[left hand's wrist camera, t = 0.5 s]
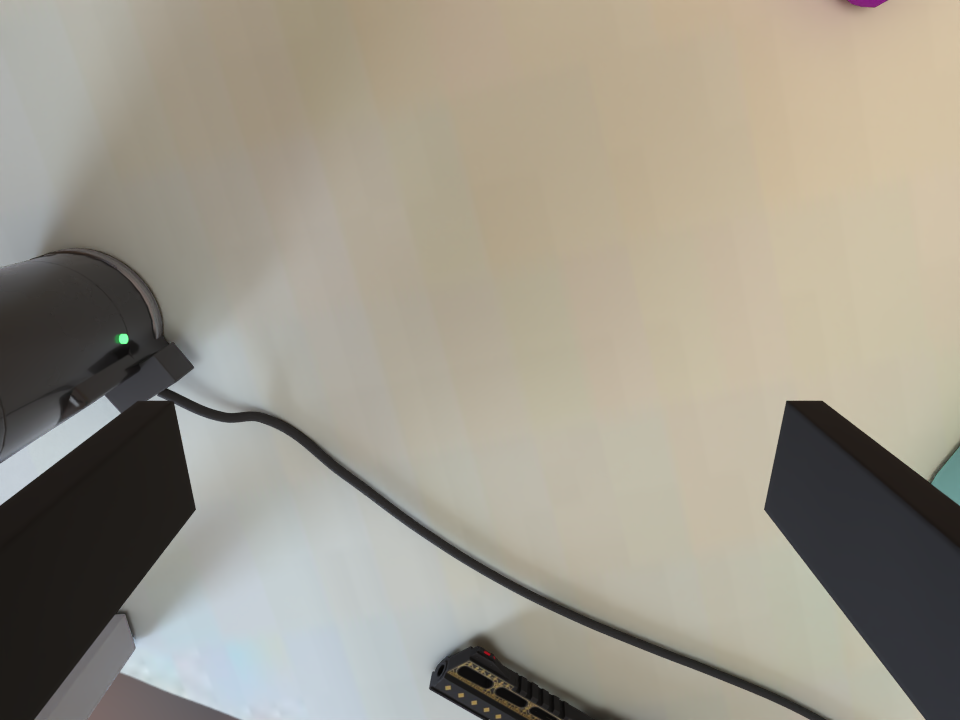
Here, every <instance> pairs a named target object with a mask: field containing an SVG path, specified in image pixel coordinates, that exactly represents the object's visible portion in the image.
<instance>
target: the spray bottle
mask: <svg viewBox="0 0 960 720" xmlns="http://www.w3.org/2000/svg"><path fill="white" fill-rule="evenodd" d="M848 1H849V2H850V3H851V4H853V5H857V6H860V7H876V6H878V5H880V4H882V3H884V2H886V1H887V0H848Z"/></svg>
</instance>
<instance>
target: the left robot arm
mask: <svg viewBox="0 0 960 720" xmlns="http://www.w3.org/2000/svg"><path fill="white" fill-rule="evenodd" d="M195 510H196V508H195V503H194V498H193V493H192V488H191V484H190V479H189V474H188V469H187V464H186V459H185V454H184V449H183V445H182V440H181V435H180V430H179V425H178V420H177V415H176V411H175V406H174V401H137V402H136V403H134V404H133V405H132V406H130V407H129V408H128V409H126V410H125V411H124V412H122V413H121V414H120V415H119V416H117V417H116V418H115V419H113V420H112V421H111V422H109V423H108V424H107V425H105V426H104V427H103V428H101V429H100V430H99V431H98V432H96V433H95V434H94V435H92V436H91V437H90V438H88V439H87V440H86V441H84V442H83V443H82V444H80V445H79V446H78V447H77V448H75V449H74V450H73V451H71V452H70V453H69V454H67V455H66V456H65V457H63V458H62V459H61V460H60V461H58V462H57V463H56V464H54V465H53V466H52V467H50V468H49V469H48V470H46V471H45V472H44V473H42V474H41V475H40V476H39V477H37V478H36V479H35V480H33V481H32V482H31V483H29V484H28V485H27V486H25V487H24V488H23V489H22V490H20V491H19V492H18V493H16V494H15V495H14V496H12V497H11V498H10V499H8V500H7V501H6V502H4V503H3V504H2V505H1V506H0V720H34V719H35V718H36V717H37V716H38V714H39V713H40V712H41V710H42V709H43V708H44V706H45V705H46V704H47V703H48V701H49V700H50V699H51V697H52V696H53V695H54V693H55V692H56V691H57V690H58V688H59V687H60V686H61V684H62V683H63V682H64V680H65V679H66V678H67V676H68V675H69V674H70V673H71V671H72V670H73V669H74V667H75V666H76V665H77V663H78V662H79V661H80V660H81V658H82V657H83V656H84V654H85V653H86V652H87V650H88V649H89V648H90V647H91V645H92V644H93V643H94V641H95V640H96V639H97V637H98V636H99V635H100V634H101V632H102V631H103V630H104V628H105V627H106V626H107V624H108V623H109V622H110V621H111V619H112V618H113V617H114V615H115V614H116V613H117V611H118V610H119V609H120V608H121V606H122V605H123V604H124V602H125V601H126V600H127V598H128V597H129V596H130V595H131V593H132V592H133V591H134V589H135V588H136V587H137V585H138V584H139V583H140V581H141V580H142V579H143V578H144V576H145V575H146V574H147V572H148V571H149V570H150V568H151V567H152V566H153V565H154V563H155V562H156V561H157V559H158V558H159V557H160V555H161V554H162V553H163V552H164V550H165V549H166V548H167V546H168V545H169V544H170V542H171V541H172V540H173V539H174V537H175V536H176V535H177V533H178V532H179V531H180V529H181V528H182V527H183V526H184V524H185V523H186V522H187V520H188V519H189V518H190V516H191V515H192V514H193V513H194V511H195ZM764 510H765V511H766V513H767V514H768V515H769V516H770V518H771V519H772V520H773V522H774V523H775V524H776V526H777V527H778V528H779V529H780V531H781V532H782V533H783V535H784V536H785V537H786V539H787V540H788V541H789V542H790V544H791V545H792V546H793V548H794V549H795V550H796V552H797V553H798V554H799V555H800V557H801V558H802V559H803V561H804V562H805V563H806V565H807V566H808V567H809V568H810V570H811V571H812V572H813V574H814V575H815V576H816V578H817V579H818V580H819V581H820V583H821V584H822V585H823V587H824V588H825V589H826V591H827V592H828V593H829V595H830V596H831V597H832V598H833V600H834V601H835V602H836V604H837V605H838V606H839V608H840V609H841V610H842V611H843V613H844V614H845V615H846V617H847V618H848V619H849V621H850V622H851V623H852V624H853V626H854V627H855V628H856V630H857V631H858V632H859V634H860V635H861V636H862V637H863V639H864V640H865V641H866V643H867V644H868V645H869V647H870V648H871V649H872V650H873V652H874V653H875V654H876V656H877V657H878V658H879V660H880V661H881V662H882V663H883V665H884V666H885V667H886V669H887V670H888V671H889V673H890V674H891V675H892V676H893V678H894V679H895V680H896V682H897V683H898V684H899V686H900V687H901V688H902V690H903V691H904V692H905V693H906V695H907V696H908V697H909V699H910V700H911V701H912V703H913V704H914V705H915V706H916V708H917V709H918V710H919V712H920V713H921V714H922V716H923V717H924V718H925V719H926V720H960V506H959V505H958V504H957V503H956V502H954V501H953V500H952V499H950V498H949V497H948V496H946V495H945V494H944V493H942V492H941V491H940V490H938V489H937V488H936V487H935V486H933V485H932V484H931V483H929V482H928V481H927V480H925V479H924V478H923V477H921V476H920V475H919V474H918V473H916V472H915V471H914V470H912V469H911V468H910V467H908V466H907V465H906V464H904V463H903V462H902V461H900V460H899V459H898V458H897V457H895V456H894V455H893V454H891V453H890V452H889V451H887V450H886V449H885V448H883V447H882V446H881V445H880V444H878V443H877V442H876V441H874V440H873V439H872V438H870V437H869V436H868V435H866V434H865V433H864V432H862V431H861V430H860V429H859V428H857V427H856V426H855V425H853V424H852V423H851V422H849V421H848V420H847V419H845V418H844V417H843V416H841V415H840V414H839V413H838V412H836V411H835V410H834V409H832V408H831V407H830V406H828V405H827V404H826V403H824V402H823V401H786V406H785V411H784V415H783V420H782V425H781V430H780V435H779V440H778V445H777V449H776V454H775V459H774V464H773V469H772V474H771V479H770V483H769V488H768V493H767V498H766V503H765V508H764Z"/></svg>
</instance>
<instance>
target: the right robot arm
mask: <svg viewBox="0 0 960 720" xmlns="http://www.w3.org/2000/svg"><path fill="white" fill-rule="evenodd" d="M193 368H194V366H193V365H192V364H191V363H190V361H189V360H188V359H187V358H186V357H185V355H184V354H183V353H182V352H181V351H180V350H179V348H178V347H177V346H176V345H175V344H174V343H173V342H172V343H170V344H168V342H167V341H166V340H165V339H164V337H163V335H162V319H161V314H160V310H159V307H158V305H157V302H156V300H155V298H154V296H153V294H152V293H151V291H150V290H149V288H148V287H147V285H146V284H145V283H144V282H143V280H142V279H141V278H140V277H139V276H138V275H137V274H136V273H135V272H134V271H133V270H131V269H130V268H129V267H128V266H126V265H125V264H123V263H122V262H120V261H118V260H117V259H115V258H113V257H111V256H109V255H106V254H104V253H101V252H97V251H94V250H89V249H80V248H72V249H64V250H59V251H55V252H51V253H48V254H45V255H42V256H40V257H36V258H33V259H30V260H28V261H24V262H20V263H16V264H12V265H8V266H4V267H1V268H0V463H2V462H3V461H5V460H6V459H8V458H9V457H11V456H12V455H14V454H15V453H17V452H18V451H20V450H21V449H23V448H24V447H26V446H27V445H29V444H30V443H32V442H33V441H35V440H36V439H38V438H39V437H41V436H42V435H44V434H46V433H47V432H49V431H50V430H52V429H53V428H55V427H56V426H58V425H60V424H61V423H63V422H64V421H66V420H67V419H69V418H70V417H72V416H74V415H75V414H77V413H78V412H80V411H81V410H83V409H84V408H86V407H87V406H89V405H90V404H92V403H93V402H95V401H96V400H98V399H99V398H101V397H102V396H104V395H105V396H106V397H107V398H108V399H109V401H110V402H111V403H112V404H113V405H114V406H115V407H116V408H117V409H118V410H119V412H120V413H122V412H124V411H125V410H126V409H128V408H129V407H130V406H132V405H133V404H134V403H136V402H137V401H147V400H149V399H150V398H152V397H153V396H155V395H157V394H158V395H157V396H159V397H161V398H164V399H166V400H168V401H174V404H176V405H178V406H180V407H183V408H185V409H187V410H189V411H191V412H193V413H195V414H198V415H200V416H203V417H206V418H209V419H212V420H216V421H221V422H228V423H235V422H245V421H257V422H261V423H264V424H266V425H269V426H272V427H274V428H276V429H278V430H280V431H282V432H284V433H285V434H287V435H289V436H290V437H292V438H293V439H295V440H296V441H297V442H299V443H300V444H301V445H302V446H304V447H305V448H306V449H307V450H308V451H310V452H311V453H312V454H313V455H314V456H315V457H316V458H318V459H319V460H320V461H321V462H322V463H323V464H325V465H326V466H327V467H328V468H329V469H331V470H332V471H333V472H334V473H336V474H337V475H338V476H340V477H341V478H342V479H344V480H345V481H347V482H348V483H349V484H351V485H352V486H354V487H355V488H356V489H358V490H359V491H360V492H362V493H363V494H364V495H366V496H367V497H368V498H370V499H371V500H372V501H374V502H375V503H376V504H378V505H379V506H380V507H382V508H383V509H384V510H386V511H387V512H388V513H390V514H391V515H392V516H394V517H395V518H396V519H398V520H399V521H401V522H402V523H403V524H405V525H406V526H408V527H409V528H410V529H412V530H413V531H415V532H416V533H418V534H419V535H421V536H422V537H424V538H425V539H427V540H428V541H430V542H431V543H433V544H434V545H436V546H437V547H439V548H440V549H442V550H443V551H445V552H446V553H448V554H450V555H451V556H453V557H454V558H456V559H457V560H459V561H461V562H462V563H464V564H466V565H467V566H469V567H471V568H472V569H474V570H476V571H477V572H479V573H481V574H483V575H484V576H486V577H488V578H490V579H492V580H493V581H495V582H497V583H499V584H500V585H502V586H504V587H506V588H508V589H510V590H512V591H513V592H515V593H517V594H519V595H521V596H523V597H525V598H527V599H529V600H531V601H533V602H535V603H537V604H539V605H541V606H543V607H545V608H547V609H549V610H552V611H554V612H556V613H558V614H560V615H562V616H565V617H567V618H569V619H571V620H573V621H575V622H578V623H580V624H582V625H584V626H587V627H589V628H591V629H594V630H596V631H598V632H601V633H603V634H606V635H608V636H611V637H613V638H616V639H618V640H621V641H623V642H626V643H628V644H631V645H633V646H636V647H638V648H641V649H643V650H646V651H648V652H651V653H653V654H656V655H658V656H661V657H663V658H666V659H669V660H671V661H674V662H677V663H679V664H682V665H684V666H687V667H690V668H692V669H695V670H698V671H700V672H703V673H705V674H708V675H710V676H713V677H715V678H718V679H720V680H723V681H725V682H728V683H730V684H733V685H735V686H738V687H740V688H743V689H745V690H747V691H750V692H752V693H755V694H757V695H759V696H762V697H764V698H766V699H769V700H771V701H773V702H775V703H778V704H780V705H782V706H784V707H786V708H788V709H790V710H792V711H794V712H796V713H798V714H800V715H802V716H804V717H806V718H808V719H810V720H826V719H824V718H823V717H821V716H819V715H817V714H815V713H813V712H811V711H809V710H808V709H806V708H804V707H802V706H800V705H798V704H796V703H794V702H792V701H790V700H787V699H785V698H783V697H781V696H779V695H777V694H775V693H772V692H770V691H768V690H766V689H763V688H761V687H759V686H756V685H754V684H752V683H749V682H747V681H744V680H742V679H739V678H737V677H734V676H732V675H729V674H727V673H725V672H722V671H720V670H717V669H715V668H712V667H710V666H707V665H705V664H702V663H700V662H697V661H694V660H692V659H689V658H687V657H684V656H681V655H679V654H676V653H674V652H671V651H668V650H666V649H663V648H661V647H658V646H656V645H653V644H650V643H648V642H646V641H643V640H641V639H638V638H636V637H633V636H631V635H628V634H626V633H623V632H621V631H618V630H616V629H613V628H611V627H608V626H606V625H604V624H601V623H599V622H596V621H594V620H592V619H589V618H587V617H585V616H583V615H580V614H578V613H576V612H574V611H572V610H569V609H567V608H565V607H563V606H561V605H559V604H557V603H554V602H552V601H550V600H548V599H546V598H544V597H542V596H540V595H538V594H536V593H534V592H532V591H530V590H528V589H526V588H524V587H522V586H520V585H518V584H517V583H515V582H513V581H511V580H509V579H507V578H506V577H504V576H502V575H500V574H498V573H497V572H495V571H493V570H491V569H490V568H488V567H486V566H484V565H483V564H481V563H479V562H478V561H476V560H474V559H473V558H471V557H469V556H468V555H466V554H464V553H463V552H461V551H460V550H458V549H457V548H455V547H453V546H452V545H450V544H449V543H447V542H446V541H444V540H443V539H441V538H440V537H438V536H437V535H435V534H434V533H432V532H431V531H429V530H428V529H426V528H425V527H423V526H422V525H420V524H419V523H418V522H416V521H415V520H413V519H412V518H410V517H409V516H408V515H406V514H405V513H404V512H402V511H401V510H400V509H398V508H397V507H396V506H394V505H393V504H392V503H390V502H389V501H388V500H386V499H385V498H384V497H382V496H381V495H380V494H378V493H377V492H376V491H374V490H373V489H372V488H371V487H369V486H368V485H367V484H365V483H364V482H362V481H361V480H360V479H358V478H357V477H356V476H354V475H353V474H351V473H350V472H349V471H347V470H346V469H345V468H343V467H342V466H341V465H339V464H338V463H337V462H336V461H334V460H333V459H332V458H331V457H330V456H329V455H327V454H326V453H325V452H324V451H323V450H322V449H321V448H319V447H318V446H317V445H316V444H315V443H314V442H312V441H311V440H310V439H309V438H308V437H306V436H305V435H304V434H302V433H301V432H300V431H298V430H297V429H295V428H294V427H292V426H291V425H289V424H287V423H285V422H283V421H281V420H279V419H277V418H275V417H272V416H269V415H267V414H264V413H260V412H240V413H225V412H221V411H217V410H213V409H210V408H208V407H205V406H202V405H200V404H198V403H196V402H194V401H192V400H190V399H188V398H186V397H184V396H182V395H180V394H177V393H175V392H173V391H171V390H169V389H167V388H168V387H169V386H171V385H172V384H174V383H176V382H177V381H178V380H180V379H181V378H182V377H183V376H185V375H186V374H187V373H188V372H190V371H191V370H192V369H193Z"/></svg>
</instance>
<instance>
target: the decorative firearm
mask: <svg viewBox="0 0 960 720" xmlns="http://www.w3.org/2000/svg"><path fill="white" fill-rule="evenodd" d="M429 689H430V690H432V691H433V692H435V693H437V694H439V695H440V696H442V697H444V698H446V699H447V700H449V701H451V702H453V703H454V704H456V705H458V706H460V707H462V708H463V709H465V710H467V711H469V712H470V713H472V714H474V715H476V716H477V717H479V718H481V719H483V720H595V719H593V718H591V717H589V716H588V715H586V714H584V713H583V712H581V711H579V710H578V709H576V708H574V707H573V706H571V705H569V704H568V703H567V702H565V701H561V700H559V698H558V697H557V696H555V695H551V694H549V692H548V691H546V690H545V689H541V688H539V687H538V685H536V684H535V683H533V682H529V681H527V679H526V678H524V677H523V676H519V675H518V673H515V672H513V671H512V670H510V669H508V668H507V667H505V666H503V665H502V664H501V663H500V662H499V661H498V660H497V659H496V658H495V656H494V655H493V654H492V653H489V652H487V651H485V649H483V648H482V647H479V646H477V647H475V648H473V647H469V648H467V649H465V650H463V651H461V652H459V653H457V654H455V655H453V656H451V657H448V656H447V657H446V658H445V659H444V660H443V661H442V662H441V663H440V664H439V665H438V666H437V668H436V670H435V672H434V671H433V672H432V676H431V681H430V687H429Z"/></svg>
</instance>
